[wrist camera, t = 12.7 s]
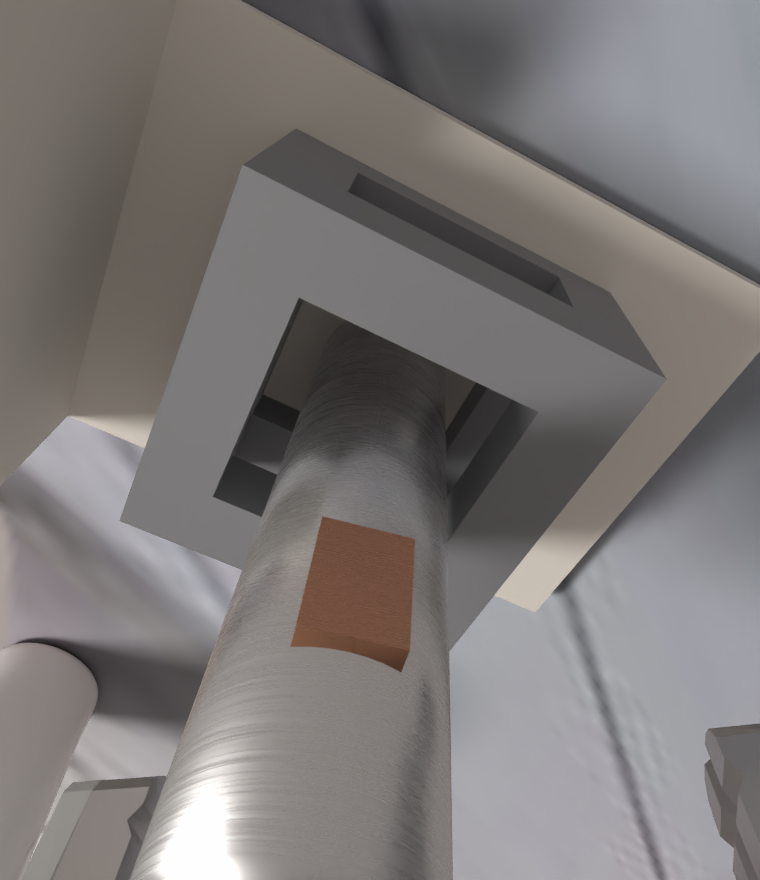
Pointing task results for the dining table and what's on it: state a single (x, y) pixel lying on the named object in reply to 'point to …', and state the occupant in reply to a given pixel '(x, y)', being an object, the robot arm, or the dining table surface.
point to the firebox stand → (328, 285)
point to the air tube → (330, 652)
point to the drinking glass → (36, 740)
